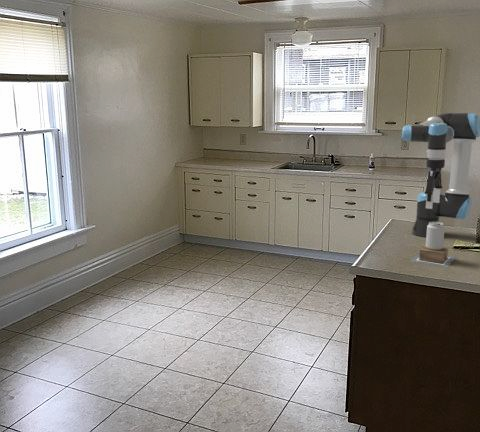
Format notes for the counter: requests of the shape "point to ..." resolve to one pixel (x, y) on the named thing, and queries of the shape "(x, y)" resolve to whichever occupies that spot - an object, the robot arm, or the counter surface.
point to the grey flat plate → (445, 263)
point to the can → (435, 236)
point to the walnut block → (433, 255)
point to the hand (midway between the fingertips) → (432, 205)
